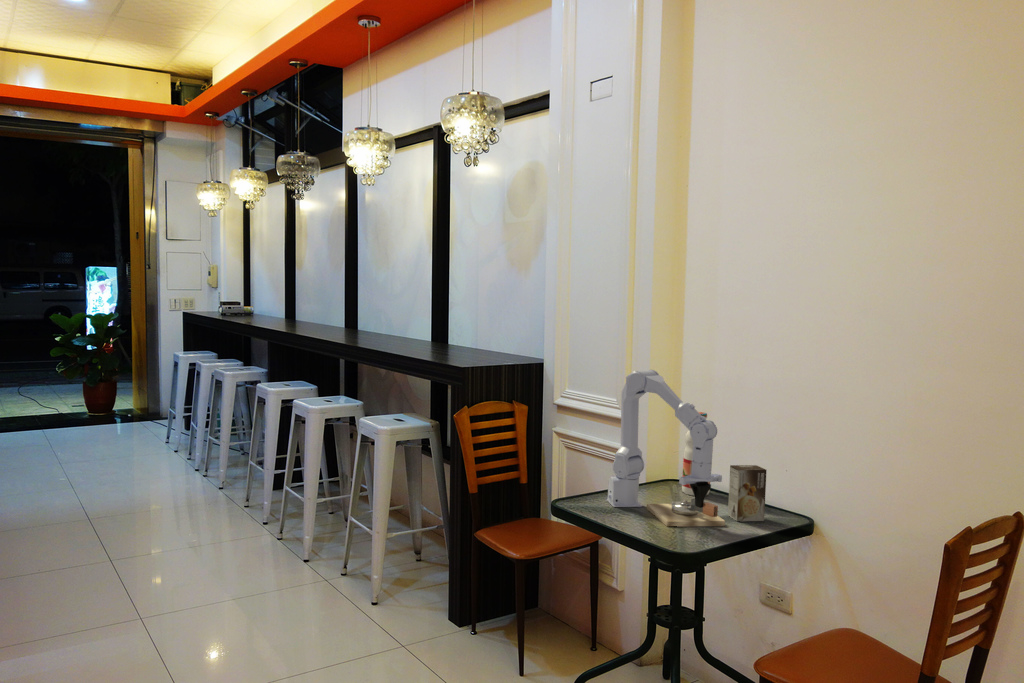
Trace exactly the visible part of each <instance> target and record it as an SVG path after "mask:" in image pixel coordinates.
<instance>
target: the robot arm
mask: <svg viewBox="0 0 1024 683" xmlns="http://www.w3.org/2000/svg"><path fill="white" fill-rule="evenodd" d="M647 393H652V394H656V395H658V396H659V397H660V398H661V399H662V400H663V401H664V402H665V403H666V404H668V406H670V407H671V408H672V409H673V410H674V417H675V418H677V419H678V420H679V422H681V424H683V426H684V427H685V428H686V429H687V431H688V430H689V431H690V435H691V438H692V439H693V454H692V469H691V475H688V476H684V477H682V476H679V482H678V483H679V485H681V486H682V485H686V484H690V486H691V488H692V490H693V493H694V495H693V497H694V498H695V506H697V507H699V508H702V507H703V502H705V499H706V496H707V495H706V494H707V493H708V491H709V490H711V488H712V484H711V483H715V482H719V483H721V482H723V481H722V480H723V476H722V475H721V474H718V473H712V466H713V451H714V450H713V449H714V439H715V438H716V437H717V435H718V427H717V426H716V424H715V423H714V421H713V420H709V419H707V418H705V417H704V416H702V415H701V414H700V413H699V412H700V411H698V410H697V409H696V406H695V405H694V404H693V403H692V404H691V403H689V402H683V401H682V399H681V397H679V395H677V394H676V393H675V391H673V389H672V388H671V387H670V386H669V385H668V384H667V382H666V381H665V380H664V377H663V376H662V375H660V374H659V373H658V371H657V370H655V369H647V370H633V371H631V373H629V374H628V375H627V376H626V377H625V384H624V386H623V388H622V390H621V407H620V408H621V410H620V415H621V416H620V447H619V448H618V450H617V451H616V452H615V455H614V460H613V463H612V471H613V473H614V474H615V476H610V477H609V478H608V488H607V498H606V501H607V502H608V503H609V504H610V505H611V506H612V507H613V508H642V507H643V504H641V503H640V502H639V492H640V490H639V489H640V488H639V485H640V477H641V473H642V472H643V470H644V468H645V460H644V459H643V451H642V450H641V449H640V448H639V413H640V412H639V407H640V404H639V401H640V399H641V397H643V396H644V395H645V394H647ZM708 482H710V484H708ZM709 492H710V491H709Z"/></svg>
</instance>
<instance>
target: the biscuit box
mask: <svg viewBox="0 0 1024 683" xmlns="http://www.w3.org/2000/svg"><path fill="white" fill-rule="evenodd" d="M728 486H729V487H728V488H729V489H728V507H727V516H728V517H729V516H730V519H732V518H733V520H734V521H735V520H736V521H735V522H737V521H740V522H764V521H765V510H766V493H767V492H766V490H767V489H766V487H767V469H765V468H763V467H761V466H759V465H756V464H754V465H752V464H751V465H750V464H749V465H748V464H744V465H742V464H741V465H740V464H739V465H738V464H737V465H734V464H733V465H731V464H730V468H729V485H728Z"/></svg>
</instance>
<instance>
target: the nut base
mask: <svg viewBox="0 0 1024 683" xmlns="http://www.w3.org/2000/svg"><path fill="white" fill-rule="evenodd" d="M671 509H672V504H671V503H646V510H647V511H649V512H650V513H651V514H652V515H653V516H654V515H655V516H654V517H655V518H657V519H658V520H659V521H660V522H661V523H662V524H664V525H665V526H666V527H667V526H677V527H726V520H725V519H723V518H722V517H720V516H718V515H717V517H711V516H708V515H705V514H703V513H701V512H699V511H698V514H697V515H680V514H676V513H674V512H672V511H671ZM718 513H720V511H719V510H718Z"/></svg>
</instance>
